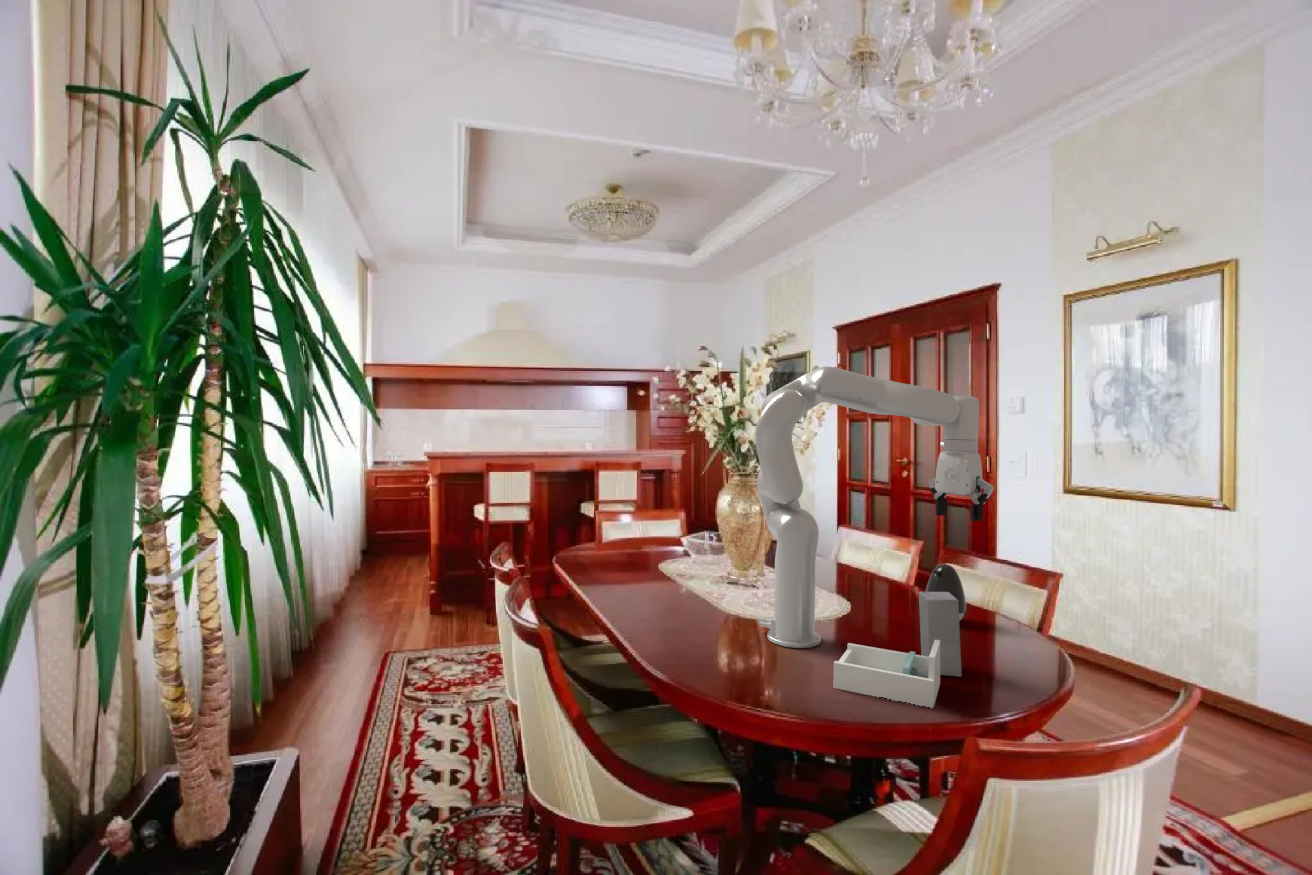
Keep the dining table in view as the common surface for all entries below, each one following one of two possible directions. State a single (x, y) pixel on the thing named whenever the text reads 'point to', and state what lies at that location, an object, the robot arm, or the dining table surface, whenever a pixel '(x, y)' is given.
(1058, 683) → the dining table surface
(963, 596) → the dark grey egg shape
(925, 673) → the pusher
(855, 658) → the open box with divider
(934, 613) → the skincare box
